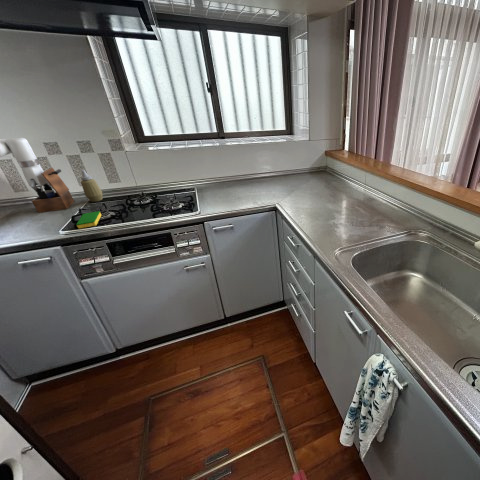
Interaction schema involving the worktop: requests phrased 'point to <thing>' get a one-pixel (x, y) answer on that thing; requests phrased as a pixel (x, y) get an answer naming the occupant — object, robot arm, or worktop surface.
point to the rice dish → (50, 193)
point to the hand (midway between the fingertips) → (47, 195)
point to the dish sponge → (89, 219)
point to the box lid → (55, 181)
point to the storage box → (53, 202)
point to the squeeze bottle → (91, 188)
